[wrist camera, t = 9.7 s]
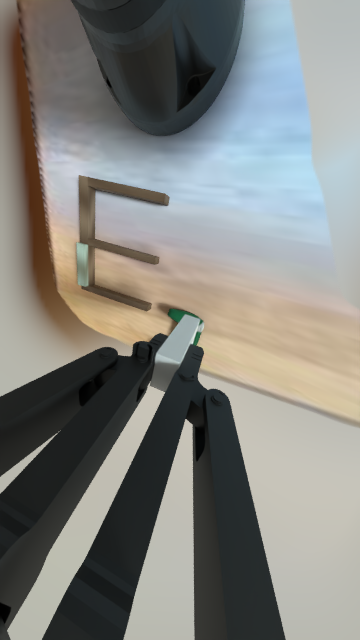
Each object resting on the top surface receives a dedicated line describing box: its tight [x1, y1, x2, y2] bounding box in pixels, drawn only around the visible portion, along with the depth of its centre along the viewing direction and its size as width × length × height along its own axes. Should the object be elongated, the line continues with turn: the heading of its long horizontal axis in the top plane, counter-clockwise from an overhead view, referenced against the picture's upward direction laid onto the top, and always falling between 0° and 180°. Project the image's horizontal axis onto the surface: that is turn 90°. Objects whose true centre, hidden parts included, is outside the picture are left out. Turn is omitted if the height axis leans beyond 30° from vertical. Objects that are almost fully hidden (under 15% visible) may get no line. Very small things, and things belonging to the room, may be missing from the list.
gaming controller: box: [167, 309, 204, 346], centre depth 28 cm, size 9×4×6 cm
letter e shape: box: [76, 175, 169, 311], centre depth 27 cm, size 17×14×2 cm
